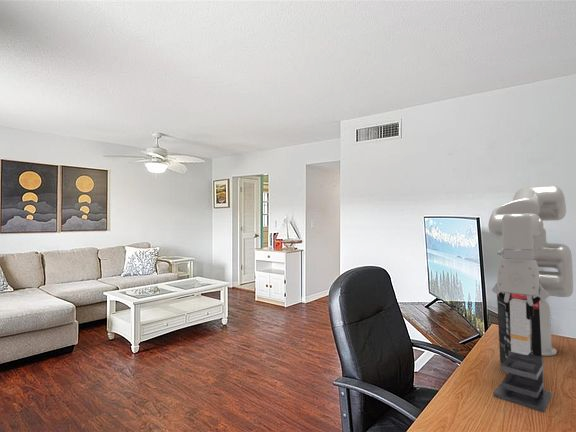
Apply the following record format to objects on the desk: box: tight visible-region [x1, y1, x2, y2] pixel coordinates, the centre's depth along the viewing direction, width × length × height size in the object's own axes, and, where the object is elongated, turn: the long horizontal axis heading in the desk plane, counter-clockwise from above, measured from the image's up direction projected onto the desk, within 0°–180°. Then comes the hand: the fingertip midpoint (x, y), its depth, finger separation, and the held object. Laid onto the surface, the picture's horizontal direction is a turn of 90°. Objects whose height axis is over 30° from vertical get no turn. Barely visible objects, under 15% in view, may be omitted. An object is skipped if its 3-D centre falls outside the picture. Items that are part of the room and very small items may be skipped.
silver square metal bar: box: [510, 299, 531, 355], centre depth 98 cm, size 4×4×15 cm
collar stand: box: [493, 350, 553, 413], centre depth 98 cm, size 12×12×11 cm
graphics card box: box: [496, 294, 543, 365], centre depth 113 cm, size 17×7×27 cm, turn 168°
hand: (519, 316), depth 99 cm, fingers closed on silver square metal bar, 4 cm apart
